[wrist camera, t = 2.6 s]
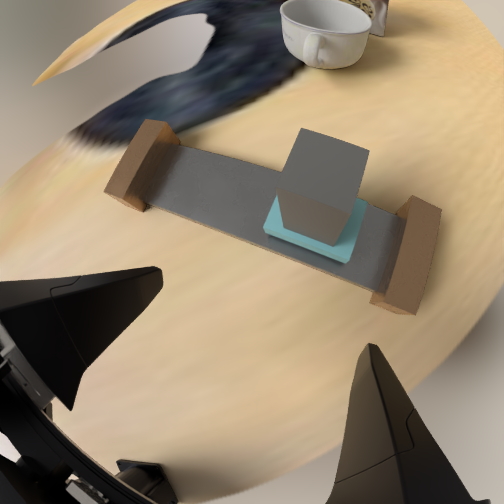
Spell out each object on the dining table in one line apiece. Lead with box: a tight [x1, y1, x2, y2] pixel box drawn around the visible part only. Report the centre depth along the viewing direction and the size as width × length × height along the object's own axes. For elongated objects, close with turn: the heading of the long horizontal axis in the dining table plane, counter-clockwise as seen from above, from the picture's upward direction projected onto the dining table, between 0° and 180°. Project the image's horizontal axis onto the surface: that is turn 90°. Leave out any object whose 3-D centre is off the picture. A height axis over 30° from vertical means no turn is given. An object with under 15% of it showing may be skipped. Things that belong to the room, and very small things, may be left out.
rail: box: [104, 119, 442, 315], centre depth 23 cm, size 30×9×4 cm, turn 67°
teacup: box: [280, 0, 372, 69], centre depth 24 cm, size 14×11×8 cm
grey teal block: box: [263, 128, 370, 264], centre depth 18 cm, size 7×5×9 cm
